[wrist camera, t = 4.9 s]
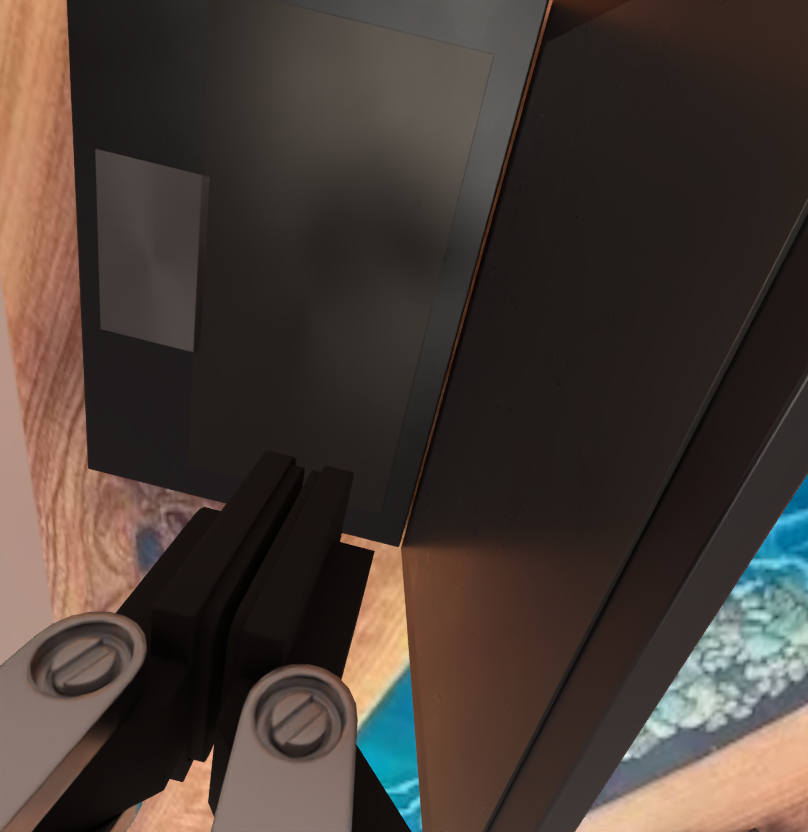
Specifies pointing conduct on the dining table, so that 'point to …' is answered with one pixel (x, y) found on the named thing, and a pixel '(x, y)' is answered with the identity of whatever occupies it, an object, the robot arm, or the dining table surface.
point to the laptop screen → (611, 401)
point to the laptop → (283, 229)
